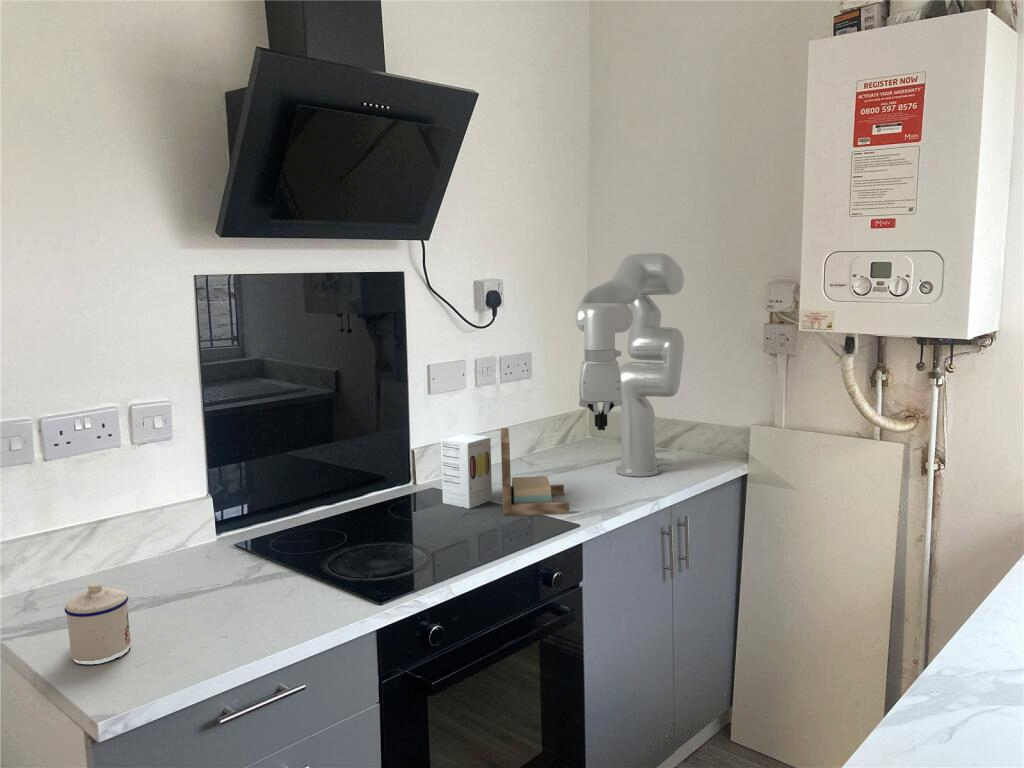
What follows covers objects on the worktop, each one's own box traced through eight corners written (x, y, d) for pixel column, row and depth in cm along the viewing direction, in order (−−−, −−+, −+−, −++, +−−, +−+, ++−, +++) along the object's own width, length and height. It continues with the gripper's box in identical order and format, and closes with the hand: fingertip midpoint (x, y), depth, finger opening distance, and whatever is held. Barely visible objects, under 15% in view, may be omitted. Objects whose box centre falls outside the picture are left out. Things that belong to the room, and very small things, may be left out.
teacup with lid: (142, 652, 133) (135, 583, 132) (82, 673, 127) (74, 600, 125) (113, 630, 142) (106, 565, 140) (55, 649, 135) (47, 581, 134)
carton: (547, 498, 215) (547, 476, 214) (551, 512, 203) (551, 488, 202) (512, 500, 214) (512, 477, 213) (514, 513, 202) (513, 490, 201)
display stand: (563, 493, 218) (562, 426, 215) (569, 513, 200) (568, 440, 198) (502, 495, 217) (500, 428, 215) (503, 515, 200) (501, 442, 198)
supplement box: (469, 509, 206) (467, 443, 204) (441, 503, 212) (439, 439, 209) (493, 500, 214) (491, 436, 211) (466, 495, 219) (463, 432, 217)
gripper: (627, 353, 208) (628, 425, 211) (568, 355, 208) (569, 427, 210) (632, 357, 200) (633, 431, 203) (570, 359, 200) (572, 433, 203)
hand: (601, 429), depth 207 cm, fingers closed
